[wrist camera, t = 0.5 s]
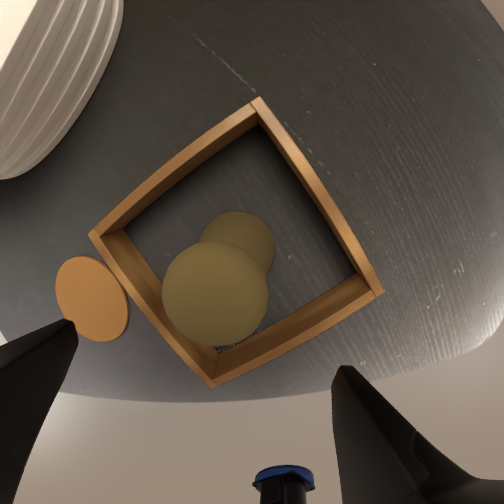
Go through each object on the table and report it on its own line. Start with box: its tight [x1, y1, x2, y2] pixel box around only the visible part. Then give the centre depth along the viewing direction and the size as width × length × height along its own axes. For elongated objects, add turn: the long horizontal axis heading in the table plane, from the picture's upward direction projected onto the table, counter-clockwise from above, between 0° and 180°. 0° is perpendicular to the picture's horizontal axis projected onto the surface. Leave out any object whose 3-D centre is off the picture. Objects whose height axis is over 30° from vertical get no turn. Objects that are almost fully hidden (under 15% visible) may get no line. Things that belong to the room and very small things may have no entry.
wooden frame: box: [88, 97, 385, 389], centre depth 21 cm, size 16×16×4 cm
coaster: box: [55, 256, 129, 342], centre depth 25 cm, size 9×9×1 cm
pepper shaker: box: [162, 211, 275, 347], centre depth 18 cm, size 6×6×11 cm
